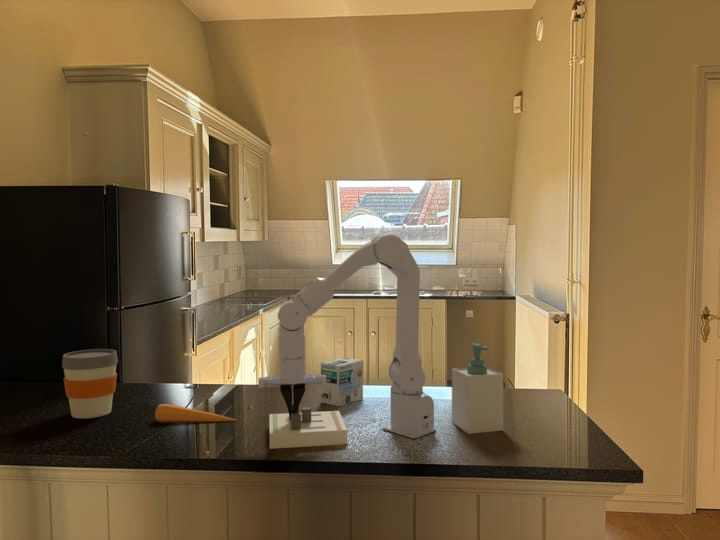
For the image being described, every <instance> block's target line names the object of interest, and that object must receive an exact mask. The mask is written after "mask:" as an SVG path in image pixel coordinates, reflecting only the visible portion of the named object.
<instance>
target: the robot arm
mask: <svg viewBox="0 0 720 540" xmlns="http://www.w3.org/2000/svg"><path fill="white" fill-rule="evenodd" d="M378 264H379V265H381V266H384V267H386V268H387V269H388V270H389V271H390V272H391V273H392V274H393V275H394V276H395V277H396V317H395V318H396V320H395V321H396V322H395V323H396V324H395V347H394V350H393V353H392V360H391V362H390V365H389V367H388V374H389V378H390V379H391V380H392V381H393V382H392V385H391V386H390V424H387V425H383V426H382V427H381V429H382V430H385V431H387V432H391V433H395V434H397V435H400V436H404V437H407V438H410V439H417V438H420V437H423V436H426V435H428V434H431V433H434V432H436V431H437V428H436V427H435V404H434V399H433V398H432V397H431V396H430V395H428V394H426V393H425V392H424V389H423V388H424V386H425V383H426V373H425V371H424V370H423V367H422V357H421V356H422V355H421V353H420V349H419V331H420V330H419V326H420V325H419V324H420V291H421V289H420V287H421V286H420V283H421V282H420V281H421V270H420V266H419V265H418V263H417V262H416V259H415V258H414V256H413V254H412V252H411V251H410V248H409V245H408V243H406V242H405V241H404V240H403V239H401V238H400V237H398V236H397V235H394V234H385V235H377V236H375V237H374V238H372V240H371V241H370V242H369V241H368V242H367V243H365V244H363V245H362V246H360V247H359V248H358V249H356V250H354V252H352V254H350V255H349V256H348V257H347V258H346V259H345V260H343V261H342V262H341V263H340V264H339V265H338V266H337V267H336V268H335V269H334V270H333V271H331V272H330V273H329V274H328V275H327V276H326V277H315V278H314V279H311V278H310V279H308V280H307V281H306V286H304V287H303V288H302V289H301V290H300V291H299V292H297V293H296V294H292V295H291V296H289V299H291V300H290V301H286V302H284V303H282V304H281V306H280V307H279V310H278V313H277V319H278V321H279V323H280V324H279V327H278V333H279V335H278V370H279V371H278V375H271V376H262V377H258V385H257V386H258V389H264V388H278V387H279V388H280V389H279V390H280V394H281V396H282V397H283V399H284V402H285V405H286V408H287V413H289V418H290V420H291V414H293V413H297V411H298V408H299V409H300V404H301V401H302V399H303V397H304V394H305V393H306V386H321V385H322V386H323V385H326V375H321V374H306V372H307V371H306V370H307V369H306V335H305V325H306V322H307V318H308V317H311V316H313V315H314V314H315V313H317V312H318V311H319V310H320V309H322V308H323V307H324V306H325V305H326V304H328V303H329V302H330V301H331V300H332V299H333V298H334V296H335V289H336V288H337V287H339V286H340V285H341V284H343V283H344V282H345V281H346V280H348V279H349V278H350V277H352V276H353V275H354V274H355V273H357V272H358V271H359V270H360V269H362V268H364V267H368V266H375V265H378ZM292 402H293V410H292Z"/></svg>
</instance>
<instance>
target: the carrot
mask: <svg viewBox="0 0 720 540" xmlns="http://www.w3.org/2000/svg"><path fill="white" fill-rule="evenodd" d="M154 417H155V421H157V422H159V423H205V422H206V423H207V422H208V423H210V422H212V423H214V422H216V423H217V422H239V421H240V420H239V419H235V418H232V417H228V416H224V415H220V414H216V413H212V412H207V411H202V410H198V409H193V408H187V407H184V406H178V405H173V404H169V403H163V404H162V403H160V404H159V405H158V406H157V408H155V411H154Z"/></svg>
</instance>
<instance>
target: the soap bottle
mask: <svg viewBox="0 0 720 540" xmlns="http://www.w3.org/2000/svg"><path fill="white" fill-rule="evenodd" d="M470 345H471V346H472V347H473V348H472V353H473V355H474V357H472V358H471V359H470V363H469V364H467V366H466V367H465V366H464V367H453V368H452V369H451V370H452V371H451V373H452V374H451V381H452V382H451V422H452V424H453V425H455V426H457V427H458V428H459V429H461V430H462V431H464V432H465V433H466V434H467V435H472V434H473V435H474V434H483V433H492V432H500V431H501V432H502V431H504V373H503V372H500V371H497V370H495V369H492V368H490V367H488V366H487V364H485V360H484V359H483V358H481V355H482V351H483V350H484V351H488V349H489V347H488V346H487V345H483V344H480V343H478V342H470Z"/></svg>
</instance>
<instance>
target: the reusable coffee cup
mask: <svg viewBox="0 0 720 540" xmlns="http://www.w3.org/2000/svg"><path fill="white" fill-rule="evenodd" d="M118 363H119V359H118V354H117V350H115V349H107V348H94V349H93V348H92V349H83V350H76V351H70V352H67V353H64V354H63V355H62V363H61V368H62V369H63V373H64V377H63V384H64V390H65V395H66V396H65V397H66V398H68V402H69V409H70V413H71V414H70V415H71V417H72V418H75V419H93V418H99V417H103V416H106V415H108V414H110V413H111V412H112V407H113V397H114V393H115V392H116V386H117V377H118V373H117V372H116V370H117V364H118Z"/></svg>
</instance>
